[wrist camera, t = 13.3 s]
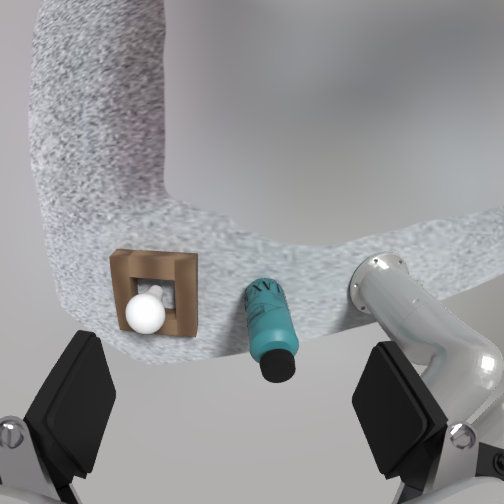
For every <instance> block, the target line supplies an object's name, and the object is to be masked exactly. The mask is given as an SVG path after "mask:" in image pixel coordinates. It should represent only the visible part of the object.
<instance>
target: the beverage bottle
mask: <svg viewBox="0 0 504 504" xmlns="http://www.w3.org/2000/svg"><path fill="white" fill-rule="evenodd" d="M245 292H246V295H245V296H246V298H245V301H246V303H245V305H246V306H245V307H246V309H247V321H248V325H247V326H248V330H247V331H248V333H249V335H248V336H249V342H250V354H251V356H252V358H253V359H254V360H255V361H256V362H258V363H259V364H260V369H261V372H262V375H263V377H264V378H265V379H266V380H267V381H269V382H272V383H281V382H284V381H287V380H289V379H290V378H291V377H292V376H293V375H294V373H295V369H296V368H295V359H294V356H295V354H296V353H297V351H298V347H299V341H298V338H297V336H296V333H295V330H294V327H293V323H292V320H291V317H290V315H291V314H290V313H291V312H290V313H289V309H288V306H287V304H288V303H286V301H287V300H285V298H286V297H284V295H285V294H283V292H284V290H283V291H282V288H281V286H280V284H278V283H277V281H275V280H273V279H270V278H260V279H257V280H255V281H254V282H252V283H251V284H250V285H249V287H248V288H247V290H246V291H245Z"/></svg>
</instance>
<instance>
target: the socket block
mask: <svg viewBox="0 0 504 504" xmlns="http://www.w3.org/2000/svg"><path fill="white" fill-rule="evenodd" d="M109 258H110V267H111V276H112V283H113V291H114V297H115V304H116V310H117V316H118V321H119V327H120V330H127V331H135V330H133V329H132V328H131V327H130V325H129V324H128V322H127V319H126V307H127V304H128V302H129V301H130V300H131V299H132V298H133V297H134V296H136V295H138V287H137V278H150V279H164V280H175V301H176V309H169V308H164V309H165V321H164V323H163V325H162V326H161V328H160V329H159V330H157V331H156V332H154V334H164V335H176V336H188V337H196V335H197V328H198V254H197V253H179V252H161V251H143V250H126V249H116V250H115V251H114V252H113V253H112V255H111V256H110V257H109Z"/></svg>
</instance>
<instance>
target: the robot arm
mask: <svg viewBox="0 0 504 504" xmlns="http://www.w3.org/2000/svg"><path fill="white" fill-rule="evenodd" d="M422 286H423V282H422V281H421V280H414V279H413V278H412V277H411V276H410V275H409V270H408V266H407V264H406V262H405V261H404V260H403V259H402V258H401V257H400V256H398V255H397V254H394V253H391V252H382V253H378V254H375V255H373V256H371V257H369V258H368V259H366V260H365V261H364V262H363V263H362V264H361V265H360V266H359V267H358V269H357V270H356V272H355V273H354V275H353V278H352V280H351V284H350V297H351V300H352V302H353V303H354V305H355V306H356V308H357V309H358V310H360V311H361V312H363V313H366V314H372V315H373V316H374V318H375V319H376V320H377V322H378V323H379V324H380V326H381V327H382V329H383V330H384V331H385V333H386V334H387V335H388V337H389V338H390V340H391V341H384V342H379V343H378V344H377V345H376V346H375V347H373V349H372V351H371V354H370V356H369V359H368V361H367V364H366V366H365V369H364V371H363V374H362V376H361V378H360V381H359V383H358V385H357V387H356V389H355V392H354V394H353V396H352V404H353V407H354V409H355V412H356V414H357V417H358V419H359V422H360V424H361V427H362V429H363V431H364V434H365V436H366V439H367V441H368V444H369V446H370V449H371V451H372V454H373V456H374V459H375V462H376V464H377V466H378V469H379V471H380V473H381V474H384V475H385V478H386V480H387V479H390V478H393V477H397V476H400V478H401V480H402V481H401V483H400V486H399V488H398V490H397V493H396V495H395V498H394V500H393V502H392V504H504V394H502V395H501V396H500V397H499V398H497V400H495V401H494V402H493V403H492V404H491V405H490V407H488V408H487V409H486V410H485V411H484V412H483V413H482V414H481V415H480V416H479V417H478V419H476V420H475V421H474V422H473V423H472V424H469V423H467V422H465V421H466V420H467V419H468V418H469V417H470V416H471V415H472V414H473V413H474V412H475V411H476V410H477V409H478V408H479V407H480V406H481V405H482V404H483V403H484V402H485V401H486V399H487V398H488V397H489V396H490V395H491V394H492V392H493V391H494V389H495V388H496V386H497V385H498V383H499V381H500V379H501V377H502V374H503V370H504V360H503V356H502V354H501V352H500V350H499V349H498V348H497V347H496V346H495V345H494V344H493V343H492V342H490V341H489V340H488V339H487V338H485V337H483V336H482V335H481V334H479V333H477V332H476V331H474V330H473V329H471V328H470V327H469V326H467V325H466V324H465V323H463V322H462V321H461V320H460V319H458V318H457V317H456V316H455V315H454V314H453V313H451V312H450V311H449V310H448V309H447V308H445V306H444V305H442V304H441V303H440V302H439V301H438V300H437V299H436V298H435V297H434V296H433V295H431V294H430V293H429V292H428V291H427V290H426V289H425V288H423V287H422ZM410 362H411V363H414V364H417V365H426V366H428V367H427V368H426V369H425V371H424V372H423V373H422V374H421V376H419V374H418V373H417V372H416V370H415V369H414V367H413V366H412V364H411V363H410ZM115 399H116V390H115V387H114V384H113V381H112V378H111V375H110V372H109V368H108V365H107V362H106V358H105V355H104V351H103V347H102V344H101V340H100V338H99V337H96V334H95V333H94V332H88V331H83V330H79V331H77V332H76V334H75V335H74V337H73V338H72V340H71V341H70V343H69V344H68V346H67V347H66V349H65V350H64V352H63V353H62V355H61V356H60V358H59V359H58V361H57V363H56V364H55V366H54V367H53V369H52V370H51V372H50V374H49V375H48V377H47V378H46V380H45V382H44V383H43V385H42V387H41V388H40V390H39V392H38V394H37V395H36V397H35V399H34V401H33V403H32V404H31V406H30V408H29V410H28V411H27V413H26V415H25V417H24V419H23V420H22V419H20V418H18V417H16V416H6V417H3V418H1V419H0V504H82V502H81V500H80V498H79V497H78V495H77V493H76V491H75V489H74V487H73V485H72V480H73V477H74V475H75V476H78V477H81V478H84V479H86V476H87V473H91V472H92V469H93V466H94V463H95V460H96V456H97V453H98V449H99V446H100V443H101V440H102V437H103V434H104V431H105V428H106V425H107V422H108V419H109V416H110V413H111V410H112V407H113V404H114V402H115Z"/></svg>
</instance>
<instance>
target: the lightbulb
mask: <svg viewBox="0 0 504 504" xmlns="http://www.w3.org/2000/svg"><path fill="white" fill-rule="evenodd" d="M162 296H163V289H162V288H161V287H160V286H158V285H153V286H151V287H150V288H149V290H147V291H146V292H145V293H143V294H139V295H136V296H134V297H133V298H132V299H131V300H130V301H129V302H128V304H127V307H126V319H127V322H128V324H129V325H130V327H131V328H132V329H133V330H135V331H136V332H138V333H141V334H151V333H154V332H156V331H157V330H159V329H160V328H161V326H162V325H163V323H164V321H165V309H164V306H163V304H162Z"/></svg>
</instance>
